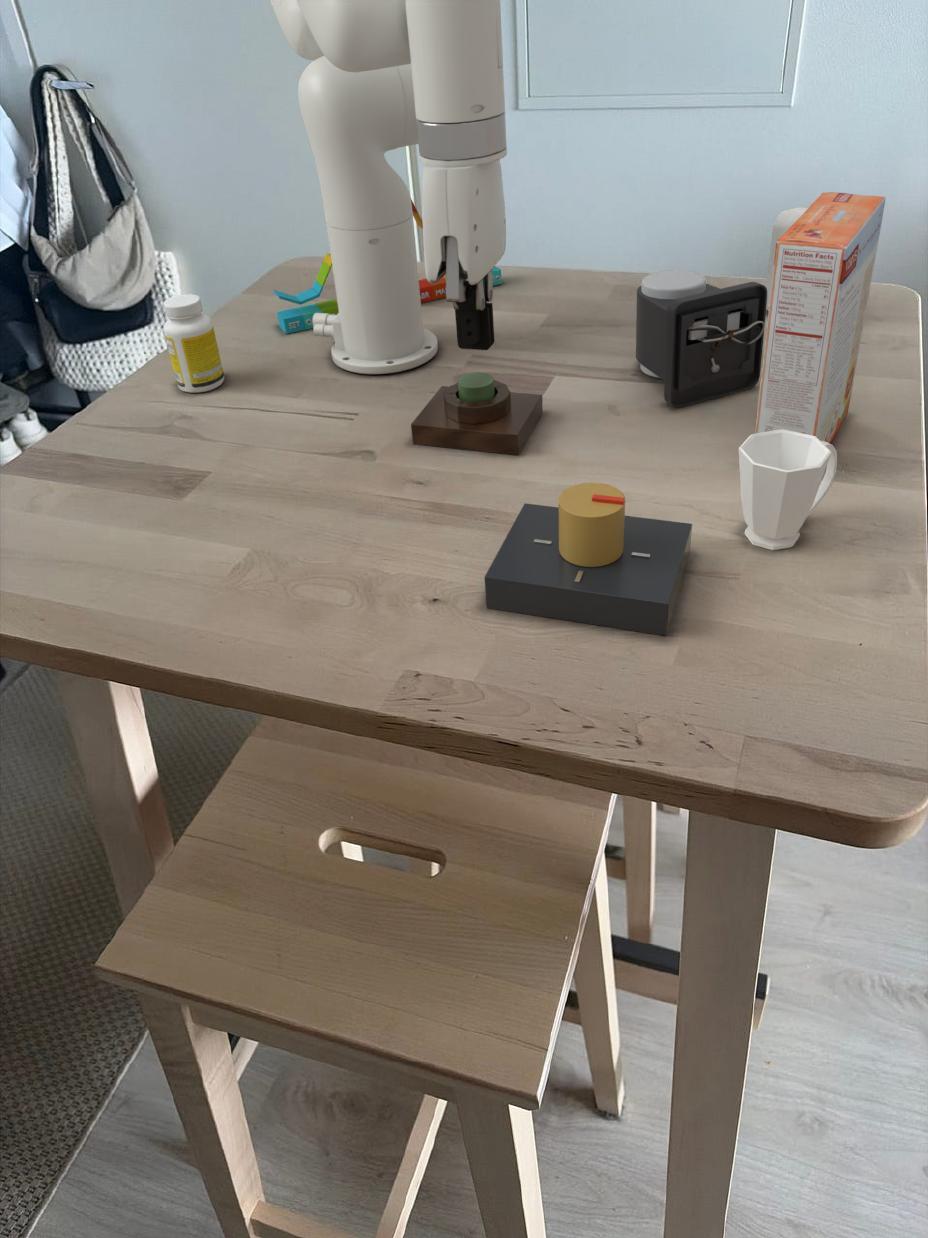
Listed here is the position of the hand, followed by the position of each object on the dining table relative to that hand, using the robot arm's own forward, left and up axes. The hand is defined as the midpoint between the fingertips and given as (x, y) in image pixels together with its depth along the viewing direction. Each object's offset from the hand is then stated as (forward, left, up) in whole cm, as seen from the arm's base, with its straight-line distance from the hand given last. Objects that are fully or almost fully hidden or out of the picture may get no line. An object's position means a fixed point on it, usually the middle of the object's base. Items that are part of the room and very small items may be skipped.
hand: (476, 345), depth 95 cm
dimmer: (+17, -23, -6) cm, 29 cm away
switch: (0, 0, -5) cm, 5 cm away
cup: (+31, -12, -9) cm, 34 cm away
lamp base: (0, 0, -9) cm, 9 cm away
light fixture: (+18, +16, -9) cm, 26 cm away
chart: (-22, +31, -9) cm, 40 cm away
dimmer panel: (+17, -23, -9) cm, 30 cm away
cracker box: (+31, +4, -9) cm, 32 cm away
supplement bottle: (-35, +4, -9) cm, 37 cm away
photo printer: (+29, +35, -9) cm, 46 cm away
